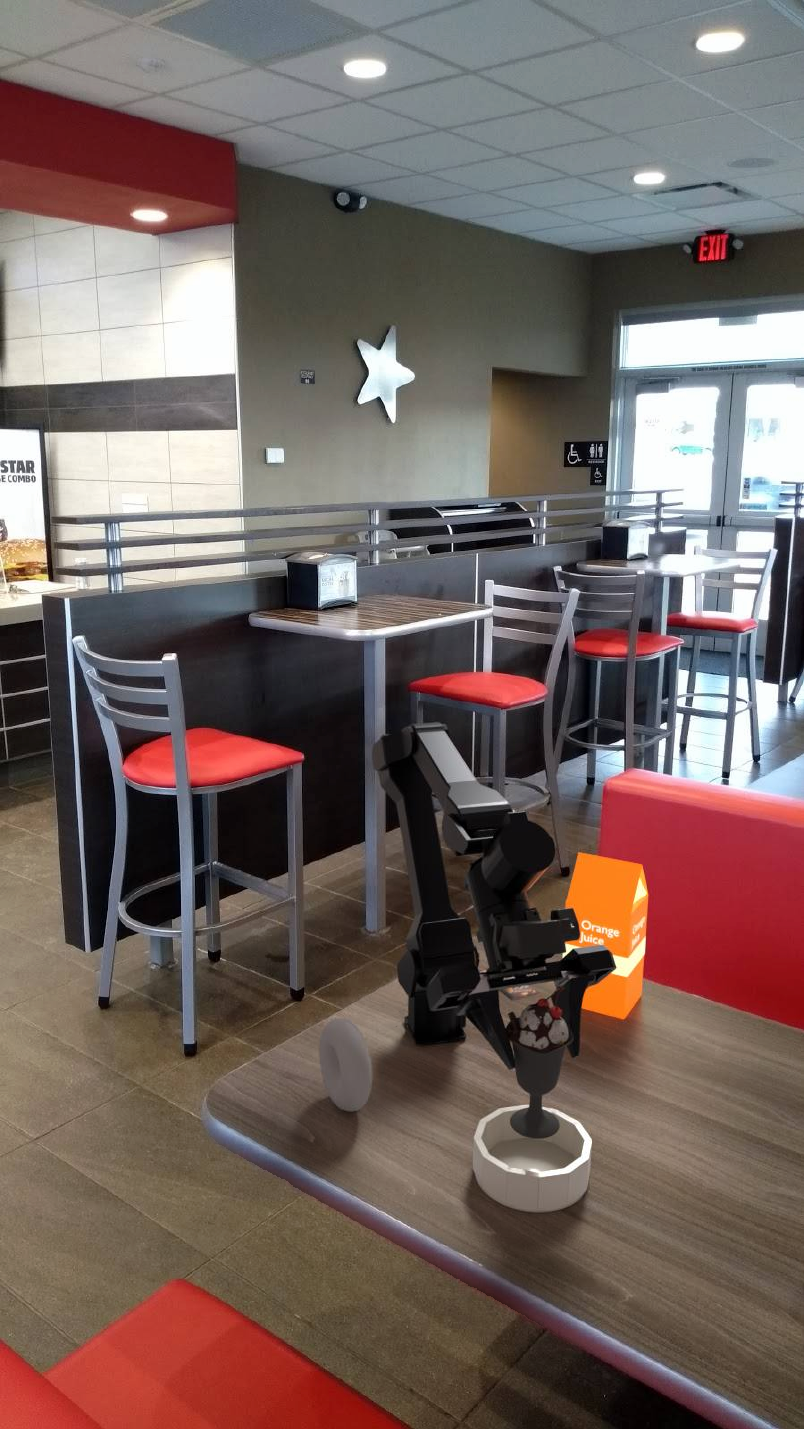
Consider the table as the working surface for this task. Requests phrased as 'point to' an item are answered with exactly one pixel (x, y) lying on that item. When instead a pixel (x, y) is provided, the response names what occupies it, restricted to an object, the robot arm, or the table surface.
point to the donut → (345, 1064)
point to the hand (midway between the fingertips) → (544, 1062)
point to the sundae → (538, 1063)
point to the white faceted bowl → (531, 1163)
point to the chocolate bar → (517, 991)
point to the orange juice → (611, 927)
